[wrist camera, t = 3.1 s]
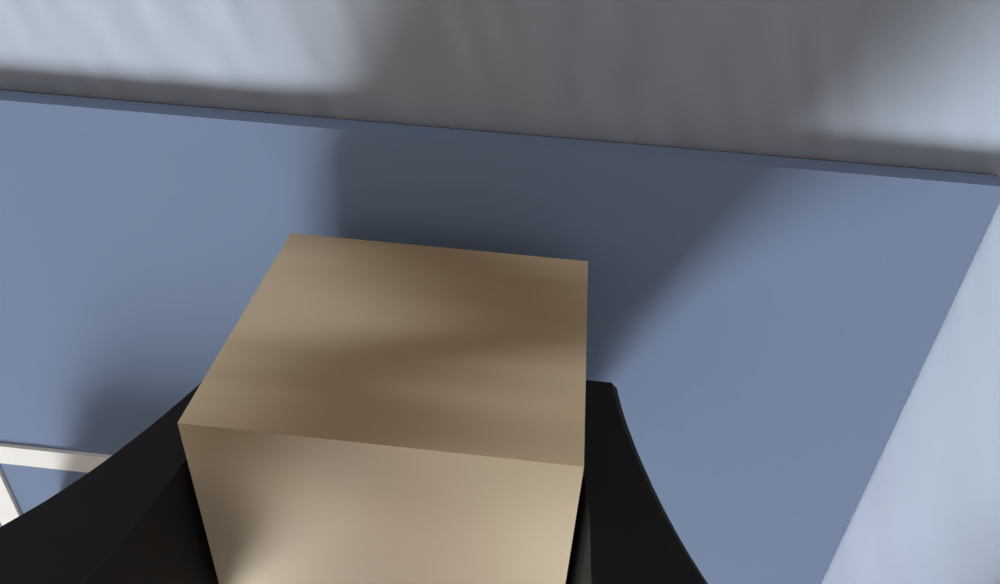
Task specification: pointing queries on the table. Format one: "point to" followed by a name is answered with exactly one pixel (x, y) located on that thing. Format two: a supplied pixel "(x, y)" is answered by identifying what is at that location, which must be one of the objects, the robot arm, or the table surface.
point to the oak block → (395, 418)
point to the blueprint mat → (502, 229)
